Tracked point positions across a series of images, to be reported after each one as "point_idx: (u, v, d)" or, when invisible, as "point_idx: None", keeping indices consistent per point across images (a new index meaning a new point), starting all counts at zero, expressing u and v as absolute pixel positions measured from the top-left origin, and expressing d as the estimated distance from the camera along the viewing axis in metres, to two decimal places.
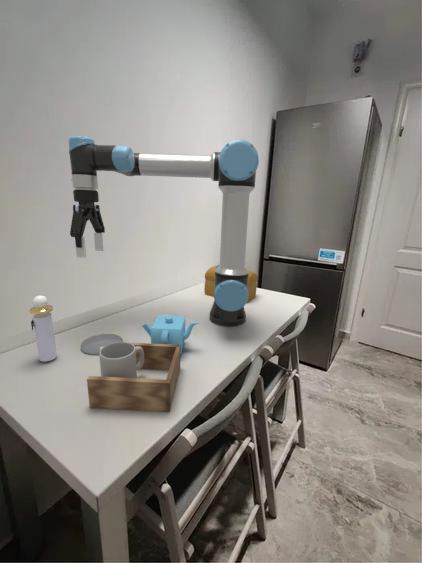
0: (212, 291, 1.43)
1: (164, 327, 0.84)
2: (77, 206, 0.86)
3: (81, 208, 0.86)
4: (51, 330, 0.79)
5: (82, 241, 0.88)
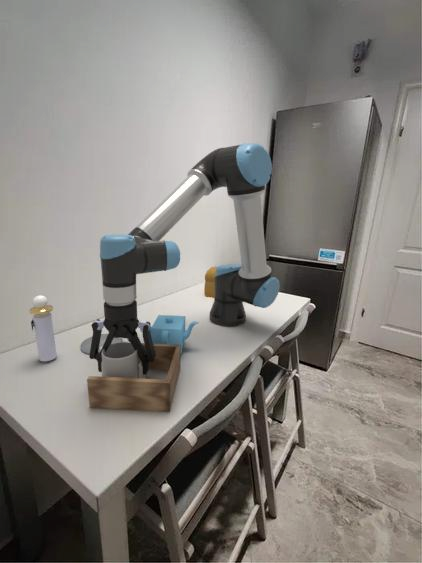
0: (213, 292, 1.41)
1: (164, 327, 0.84)
2: None
3: (94, 327, 0.67)
4: (51, 330, 0.79)
5: (101, 366, 0.69)
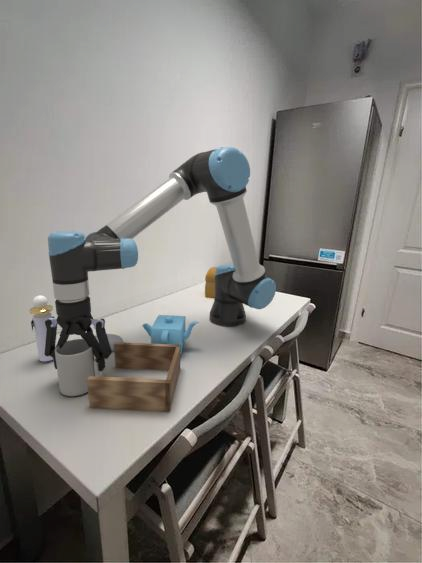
0: (214, 293, 1.40)
1: (164, 327, 0.84)
2: None
3: (47, 324, 0.67)
4: None
5: None
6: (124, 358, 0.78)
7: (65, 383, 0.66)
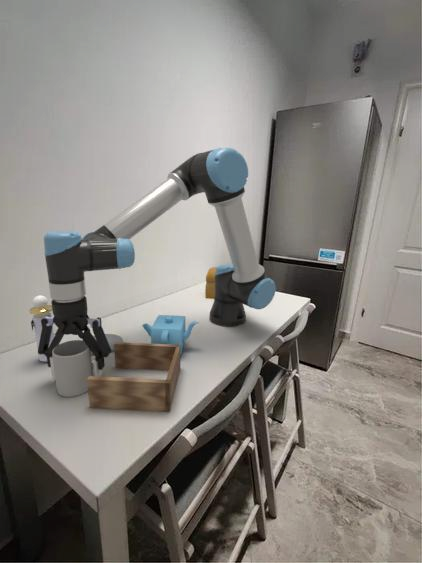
0: (214, 293, 1.39)
1: (164, 327, 0.84)
2: None
3: (43, 323, 0.67)
4: None
5: None
6: (124, 358, 0.78)
7: (62, 384, 0.66)
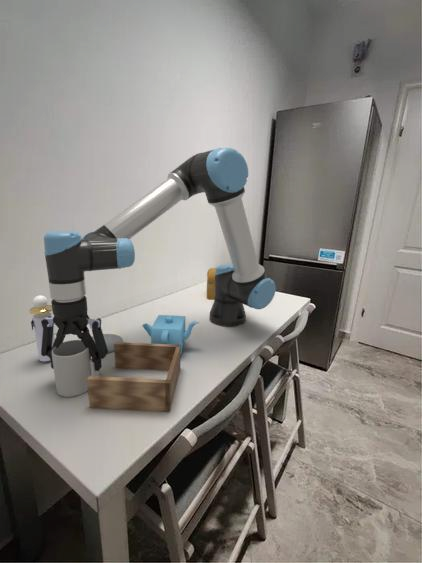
0: None
1: (164, 327, 0.84)
2: None
3: (43, 324, 0.67)
4: None
5: None
6: (124, 358, 0.78)
7: (62, 384, 0.66)
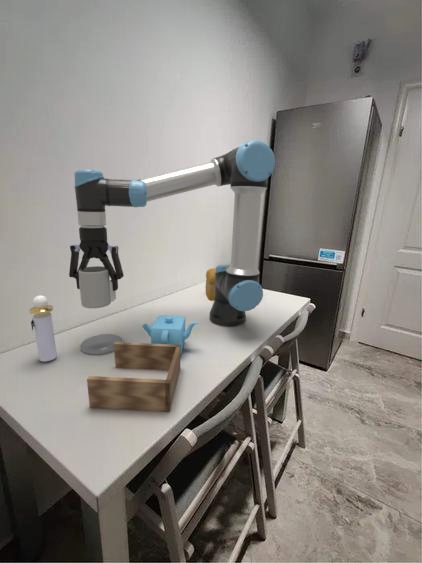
0: None
1: (164, 327, 0.84)
2: None
3: (72, 249, 0.82)
4: (51, 330, 0.79)
5: None
6: (124, 358, 0.78)
7: (87, 297, 0.81)
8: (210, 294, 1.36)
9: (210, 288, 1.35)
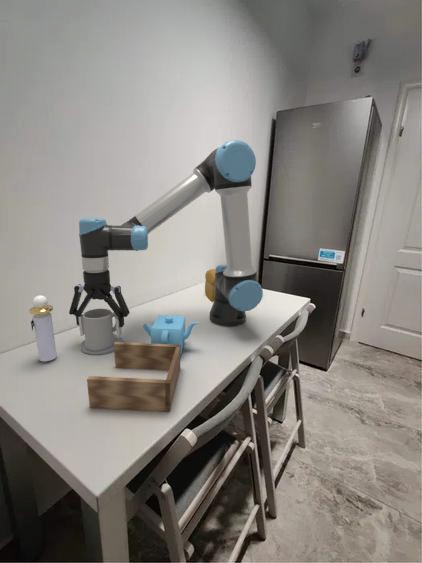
0: None
1: (164, 327, 0.84)
2: None
3: (75, 289, 0.85)
4: (51, 330, 0.79)
5: None
6: (124, 358, 0.78)
7: (91, 341, 0.85)
8: (213, 295, 1.35)
9: (213, 289, 1.34)
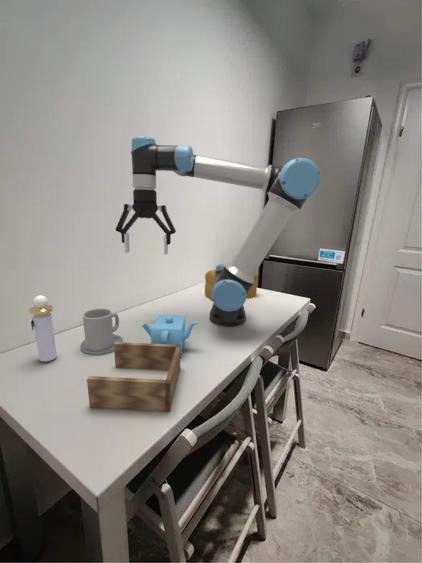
0: None
1: (164, 327, 0.84)
2: None
3: (125, 207, 0.92)
4: (51, 330, 0.79)
5: None
6: (124, 358, 0.78)
7: (91, 341, 0.85)
8: None
9: None
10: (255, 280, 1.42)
